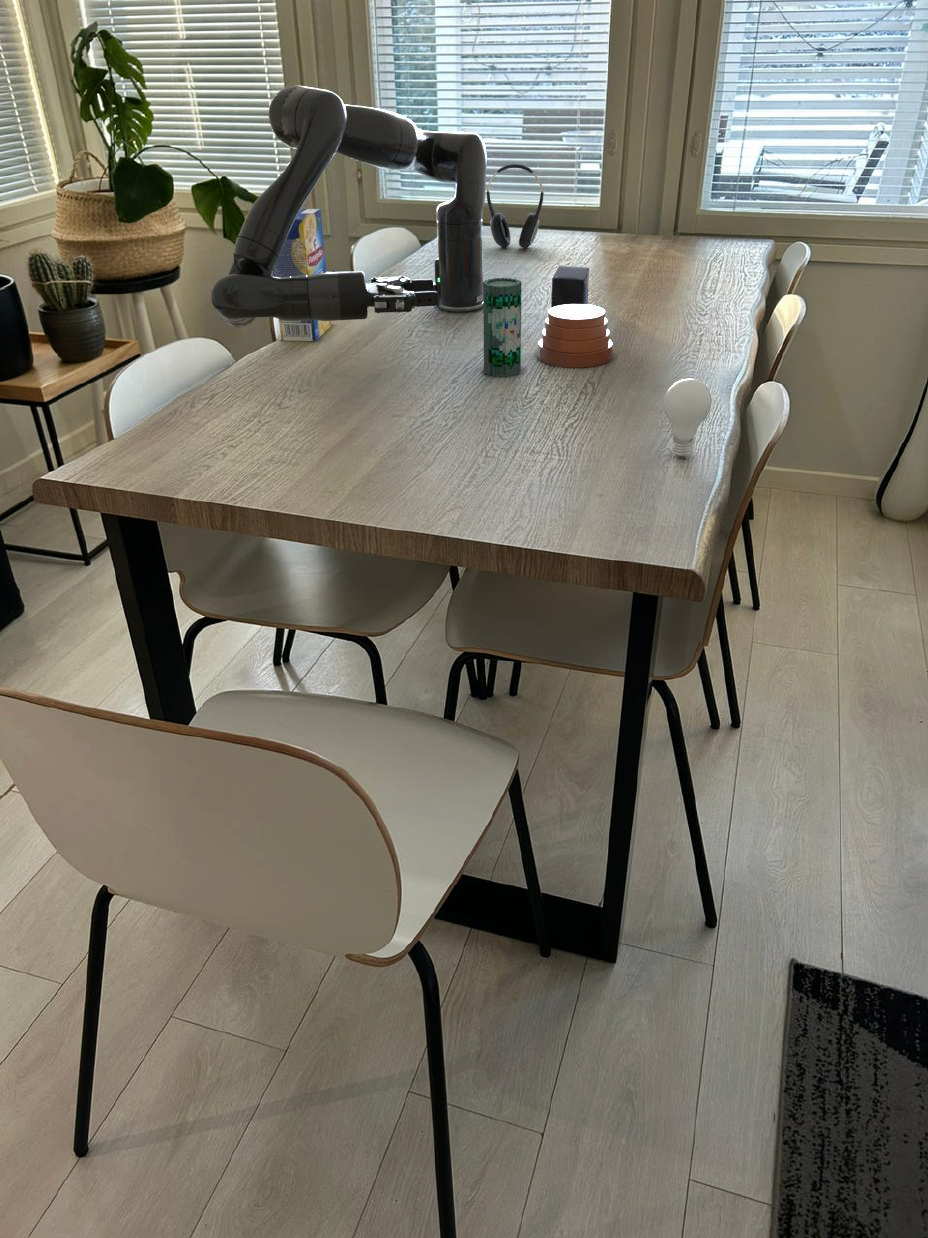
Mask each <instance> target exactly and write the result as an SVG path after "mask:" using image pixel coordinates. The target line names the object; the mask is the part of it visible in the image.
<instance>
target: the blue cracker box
mask: <svg viewBox="0 0 928 1238" xmlns="http://www.w3.org/2000/svg"><path fill="white" fill-rule="evenodd" d="M319 273H327V264H326V254H325V243H324V232H323V222H322V211H321V208H301V209H300V211H299V213H298V215H297V217H296V219H295V221H294V223H293V225H292V227H291V229H290V231H289V234H288V236H287V239H286V241H285V243H284V246H283V248H282V251H281V253H280V255H279V258H278V260H277V262H276V264H275V266H274V268H273V270H272V274H273V275H272V276H273V277H285V276H301V275H307V276H308V275H313V274H319ZM278 324H279V331H280V340H281V341H295V342H296V341H298V342H317V340H319V338H320V337H322V335H324V334H325V332H326V331H328V330H329V328H331V327H332V321H320V320H312V319H311V320H305V321H283V320H280V319H278Z"/></svg>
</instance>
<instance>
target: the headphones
mask: <svg viewBox="0 0 928 1238" xmlns="http://www.w3.org/2000/svg"><path fill="white" fill-rule="evenodd" d="M509 169H521V170H523V171H526V172H528V173H529V174H531V175H533V176H534V177H535V178H536V180H537V182H538V183H539V186H540V196H539V201H538V205H537V208H536V210H535V213H532V212H531V213H528V215H527V216H526V218H525V220H524V222H523V225H522V229H521V231H520V234H519V239H518V245H519V247H520V248H523V249H526V248H529V247H530V246H532V245H533V243H534V241H535V239H536V236H537V233H538V230H539V226H540V220H539V217H540V214H541V210H542V206H543V202H544V193H545V192H544V187H543V183H542V181H541V179H540V178H539V176H538V175H537V174H536V173H535V172H534V170H533V169H531V168H530V167H528V166H526V165H524V164H521V163H509V164H506V165H504V166H501V167H500V168H499V169H497V170H496V172H495V173H494V174H493V175H492V176H491V178H490V180H489V181H488V184H487V187H486V201H487V205H488V206H487V207H488V210H489V213H490V218H491V220H489V221H490V222H489V224H490V231H491V236H492V238H493V240H494V243H495V244H496V245H497V246H499V247H501V248H506V247H507V248H508V246H510V244H511V233H510V232H511V231H510V228H509V224H508V221H507V219H506V217H505V215H504V214H503V213H501V212H495V210H494V207H493V204H492V201H491V200H492V199H491V193H490V186H491V184H492V181H493V180H494V179H495V178H496V176H497V175H498V174H500V173H501V172H504V171H506V170H509Z"/></svg>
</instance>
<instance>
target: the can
mask: <svg viewBox="0 0 928 1238" xmlns="http://www.w3.org/2000/svg"><path fill="white" fill-rule="evenodd" d="M482 308H483V309H482V310H483V311H482V313H483V315H482V317H483V318H482V319H483V321H482V322H483V324H482V325H483V372H484V373H485V374H487V375H489V376H493V377H501V378H502V377H510V376H515V375H517V374H520V372H521V371H522V367H521V366H522V365H521V363H522V362H521V360H522V359H521V358H522V357H521V356H522V355H521V354H522V280H519V279H517V278H512V277H493V278H488V279H485V280H483V307H482Z"/></svg>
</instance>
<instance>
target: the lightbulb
mask: <svg viewBox="0 0 928 1238" xmlns="http://www.w3.org/2000/svg"><path fill="white" fill-rule="evenodd" d="M663 398H664V399H663V409H664V413H665V415H666V417H667V419H668V421H669V423H670V424H671V431H672V435H673V443H672V444H673V445H672V453H673V454H674V455H675V456H677V457H678V458H686V457H689V456H691V455H692V454H693V446H694V440H695V436H696V435H697V434H698V433H697V432H698V429H699V427H700V426H701V424H702V423H703V421H705V420H706V418H707V417H708V415H709V413H710V411H711V408H712V405H713V404H712V403H713V400H712V395H711V392H710V389H709V388H708V386H706V384H705V383H703V382H702V381H700V380H698V379H695V378H683V379H680V380H678V381H676V382H674V383H672V385H671V386H670V387H668V389H667V390H666V393H665V394H664V397H663Z"/></svg>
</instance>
